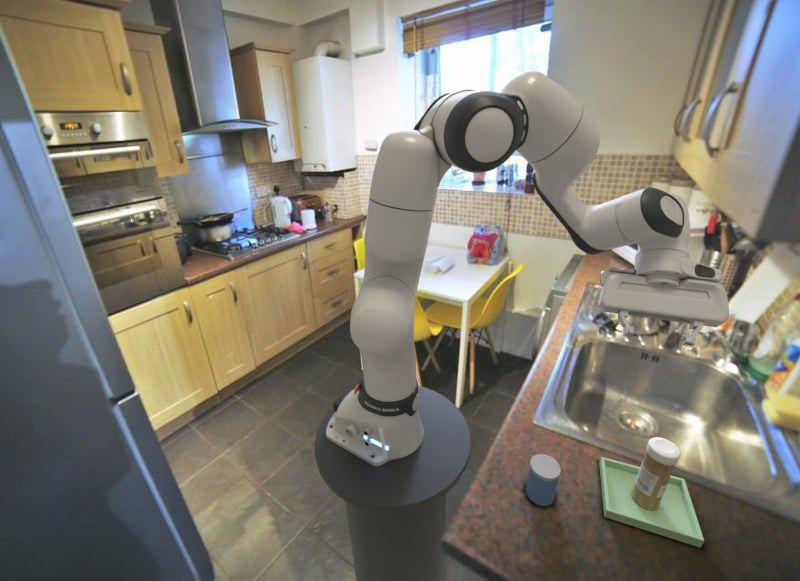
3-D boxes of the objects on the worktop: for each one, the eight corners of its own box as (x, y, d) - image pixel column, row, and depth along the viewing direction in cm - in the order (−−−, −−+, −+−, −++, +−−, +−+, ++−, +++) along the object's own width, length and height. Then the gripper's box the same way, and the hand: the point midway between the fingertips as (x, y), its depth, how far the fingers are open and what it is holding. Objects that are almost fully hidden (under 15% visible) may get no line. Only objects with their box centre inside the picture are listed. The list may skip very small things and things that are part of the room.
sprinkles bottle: (664, 511, 65) (687, 458, 60) (637, 510, 66) (657, 456, 60) (651, 488, 69) (671, 436, 64) (625, 487, 70) (643, 435, 64)
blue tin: (524, 501, 68) (529, 472, 65) (526, 478, 73) (531, 450, 69) (554, 510, 66) (560, 482, 63) (554, 486, 71) (561, 458, 68)
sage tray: (604, 517, 65) (606, 510, 64) (599, 463, 75) (601, 456, 75) (700, 548, 60) (704, 540, 59) (681, 485, 70) (684, 478, 69)
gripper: (604, 259, 72) (597, 326, 68) (733, 272, 65) (734, 347, 61) (598, 272, 78) (591, 334, 74) (716, 285, 70) (716, 354, 66)
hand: (657, 340), depth 67 cm, fingers open, 8 cm apart
